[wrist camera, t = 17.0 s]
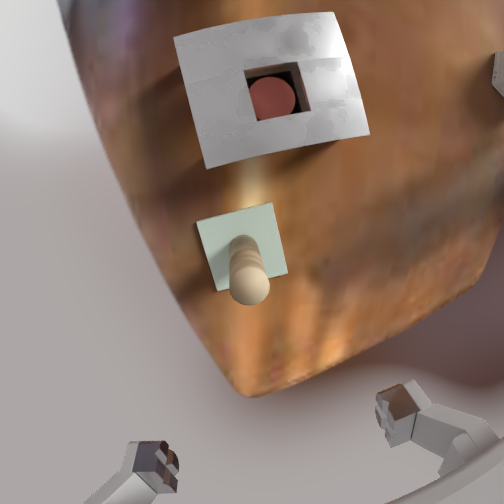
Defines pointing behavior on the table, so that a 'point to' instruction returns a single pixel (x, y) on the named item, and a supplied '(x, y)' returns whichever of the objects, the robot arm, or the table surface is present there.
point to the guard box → (269, 65)
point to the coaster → (235, 224)
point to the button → (271, 98)
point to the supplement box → (498, 72)
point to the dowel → (247, 271)
